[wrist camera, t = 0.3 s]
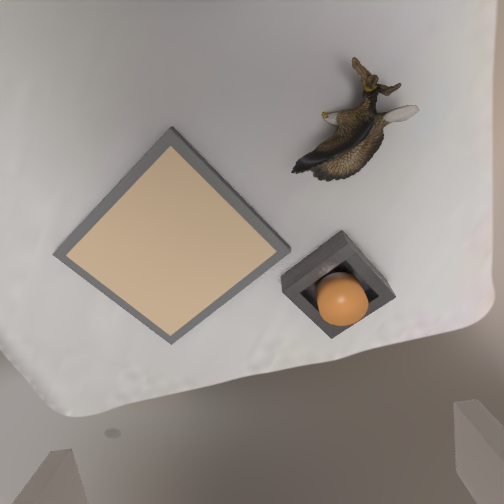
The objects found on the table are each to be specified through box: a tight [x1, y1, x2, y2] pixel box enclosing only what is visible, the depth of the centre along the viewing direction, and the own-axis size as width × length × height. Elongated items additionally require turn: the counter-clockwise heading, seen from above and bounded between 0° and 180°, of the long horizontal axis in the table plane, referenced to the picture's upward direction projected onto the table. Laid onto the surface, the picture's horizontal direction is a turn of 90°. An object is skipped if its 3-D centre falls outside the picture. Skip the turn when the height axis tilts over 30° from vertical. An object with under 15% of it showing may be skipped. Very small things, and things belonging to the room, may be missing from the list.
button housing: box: [281, 231, 396, 339], centre depth 37 cm, size 8×8×3 cm
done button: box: [315, 272, 368, 326], centre depth 35 cm, size 5×5×2 cm
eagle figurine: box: [291, 57, 419, 181], centre depth 29 cm, size 8×7×9 cm
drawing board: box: [52, 127, 291, 345], centre depth 37 cm, size 18×16×1 cm
